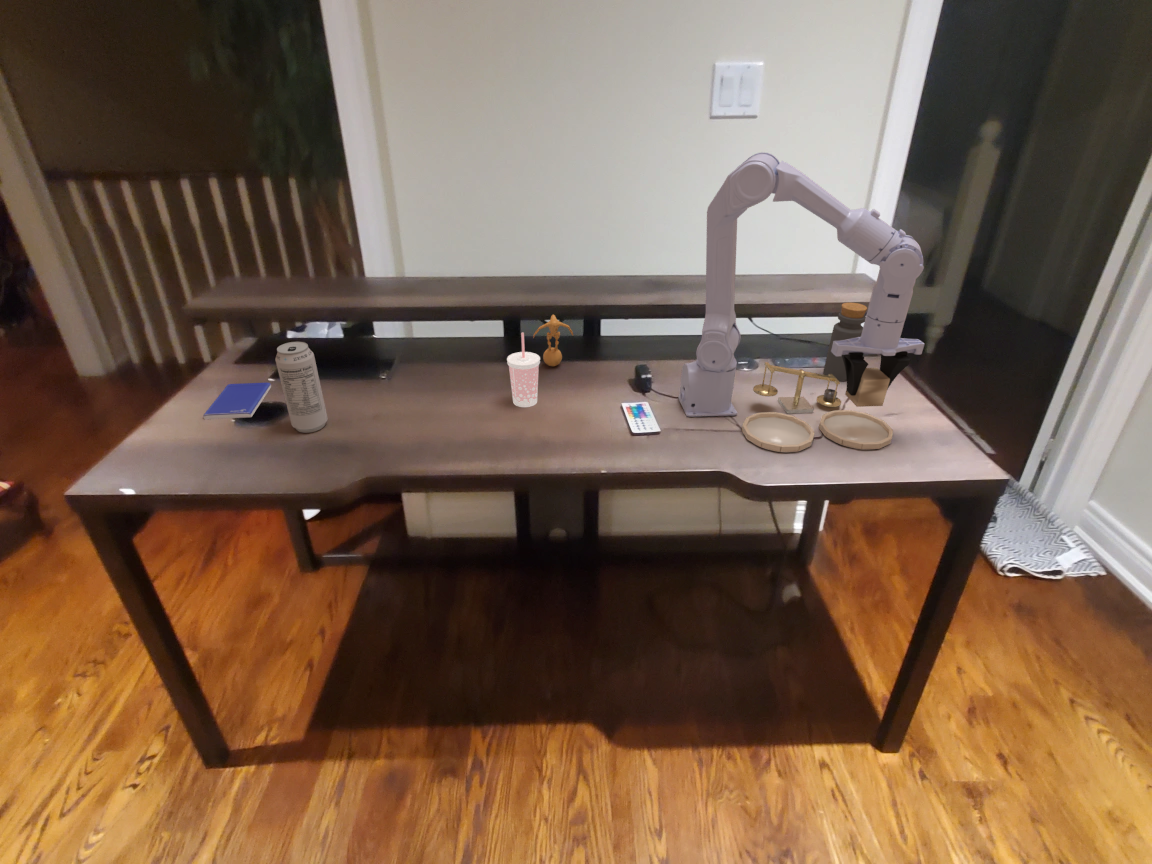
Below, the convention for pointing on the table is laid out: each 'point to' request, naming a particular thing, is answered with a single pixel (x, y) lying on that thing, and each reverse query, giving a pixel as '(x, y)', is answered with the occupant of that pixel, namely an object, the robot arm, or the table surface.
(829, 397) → the balance scale
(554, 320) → the figurine
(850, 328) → the bottle
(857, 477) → the table surface
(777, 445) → the left dish
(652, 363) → the table surface
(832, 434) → the right dish
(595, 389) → the table surface
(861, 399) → the maple block
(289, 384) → the energy drink can
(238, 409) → the hard drive
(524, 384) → the beverage cup
